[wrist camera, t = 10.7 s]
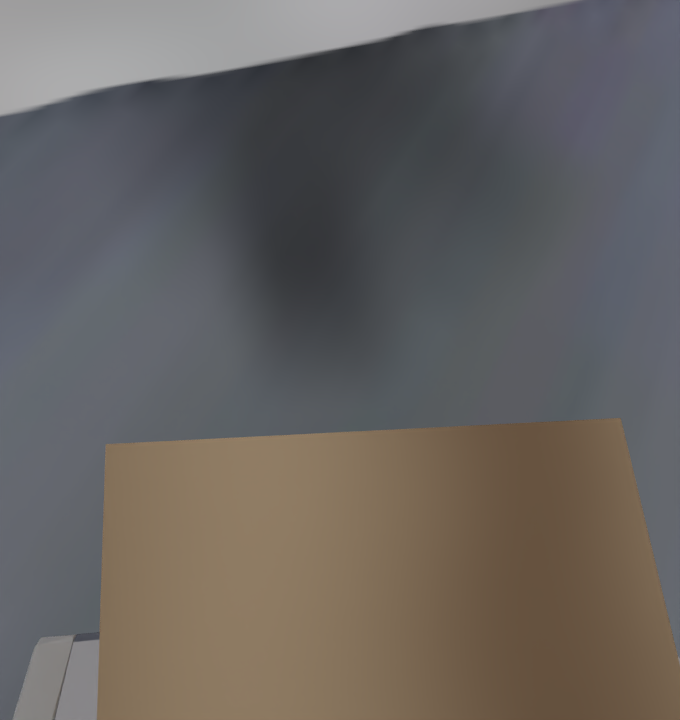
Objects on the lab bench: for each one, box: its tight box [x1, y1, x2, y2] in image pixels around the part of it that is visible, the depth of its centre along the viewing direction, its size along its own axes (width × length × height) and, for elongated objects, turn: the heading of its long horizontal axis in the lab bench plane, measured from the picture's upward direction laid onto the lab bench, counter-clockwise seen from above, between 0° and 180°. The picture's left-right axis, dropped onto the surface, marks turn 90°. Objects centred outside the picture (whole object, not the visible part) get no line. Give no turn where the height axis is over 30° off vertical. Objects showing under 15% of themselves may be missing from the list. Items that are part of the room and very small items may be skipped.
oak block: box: [97, 418, 680, 720], centre depth 11 cm, size 6×6×10 cm
